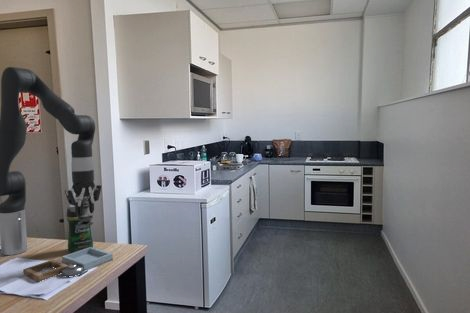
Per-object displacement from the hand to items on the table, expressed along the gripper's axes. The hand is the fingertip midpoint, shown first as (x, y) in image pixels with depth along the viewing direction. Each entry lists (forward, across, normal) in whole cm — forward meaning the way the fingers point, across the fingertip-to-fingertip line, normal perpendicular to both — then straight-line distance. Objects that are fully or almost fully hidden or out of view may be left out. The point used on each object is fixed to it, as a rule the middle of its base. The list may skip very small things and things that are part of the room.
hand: (85, 214), depth 129 cm
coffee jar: (+19, -6, -14) cm, 24 cm away
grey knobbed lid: (+18, +9, +5) cm, 21 cm away
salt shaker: (+4, 0, 0) cm, 4 cm away
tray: (+18, 0, 0) cm, 18 cm away
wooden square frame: (+18, +14, -3) cm, 23 cm away
